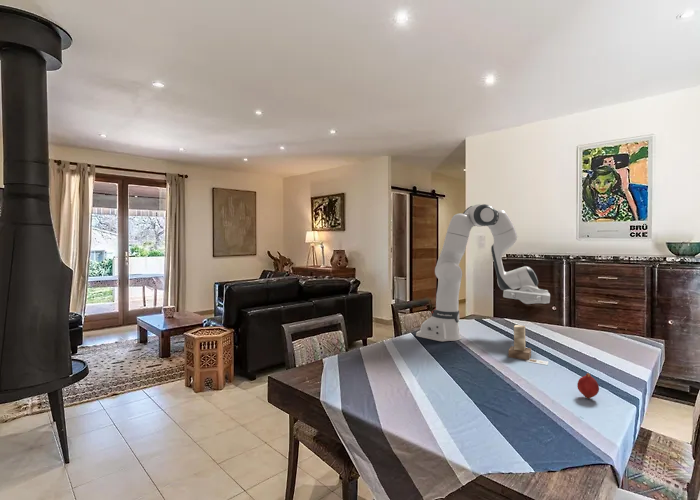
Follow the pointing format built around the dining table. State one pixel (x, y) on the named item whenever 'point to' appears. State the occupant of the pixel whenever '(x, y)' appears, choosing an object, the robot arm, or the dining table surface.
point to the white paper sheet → (537, 361)
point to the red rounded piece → (588, 386)
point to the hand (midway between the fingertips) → (524, 297)
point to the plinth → (519, 353)
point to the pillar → (519, 338)
